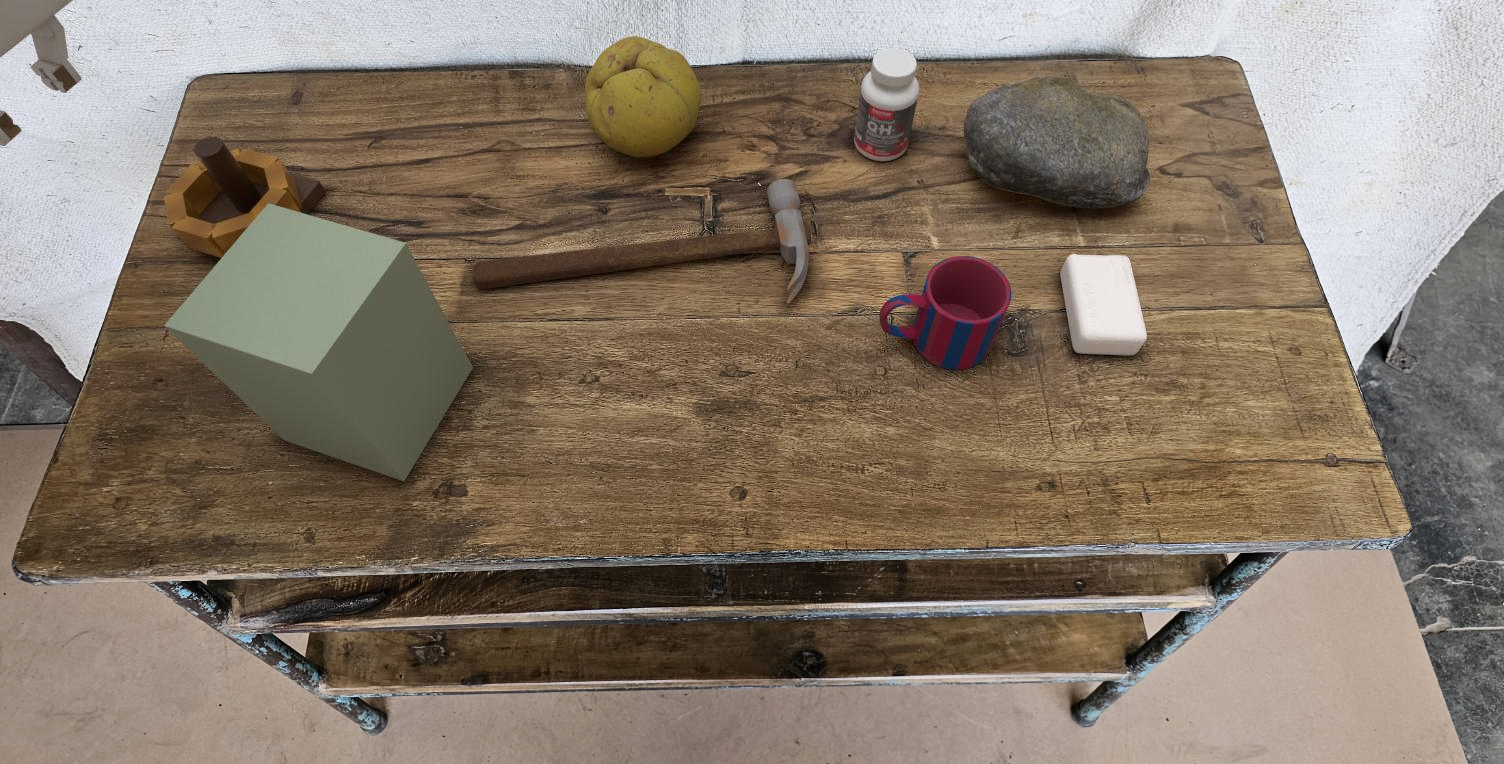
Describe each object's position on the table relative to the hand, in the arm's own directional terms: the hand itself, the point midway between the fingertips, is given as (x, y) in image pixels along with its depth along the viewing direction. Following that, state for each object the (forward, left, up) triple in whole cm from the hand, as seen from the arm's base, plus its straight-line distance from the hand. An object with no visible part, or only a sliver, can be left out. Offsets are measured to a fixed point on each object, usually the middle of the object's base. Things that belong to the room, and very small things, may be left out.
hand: (37, 110), depth 57 cm
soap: (+24, -74, -21) cm, 80 cm away
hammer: (+16, -35, -21) cm, 44 cm away
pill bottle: (+38, -51, -21) cm, 67 cm away
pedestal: (-4, -20, -21) cm, 29 cm away
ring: (+9, +2, -20) cm, 21 cm away
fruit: (+31, -29, -21) cm, 47 cm away
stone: (+39, -67, -21) cm, 80 cm away
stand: (+10, +2, -21) cm, 23 cm away
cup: (+17, -61, -21) cm, 67 cm away
